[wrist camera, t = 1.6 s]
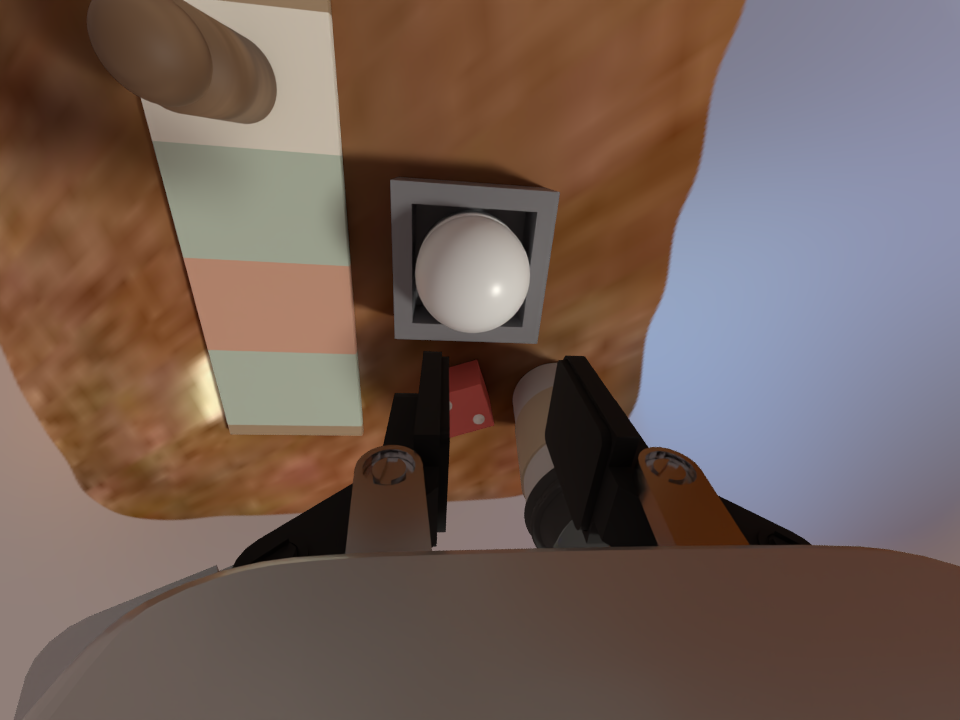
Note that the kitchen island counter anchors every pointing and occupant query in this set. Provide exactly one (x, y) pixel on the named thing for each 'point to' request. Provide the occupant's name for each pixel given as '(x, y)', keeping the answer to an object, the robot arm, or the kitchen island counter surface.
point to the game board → (270, 231)
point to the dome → (472, 272)
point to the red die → (468, 399)
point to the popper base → (435, 199)
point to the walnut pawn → (182, 59)
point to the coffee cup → (541, 465)
